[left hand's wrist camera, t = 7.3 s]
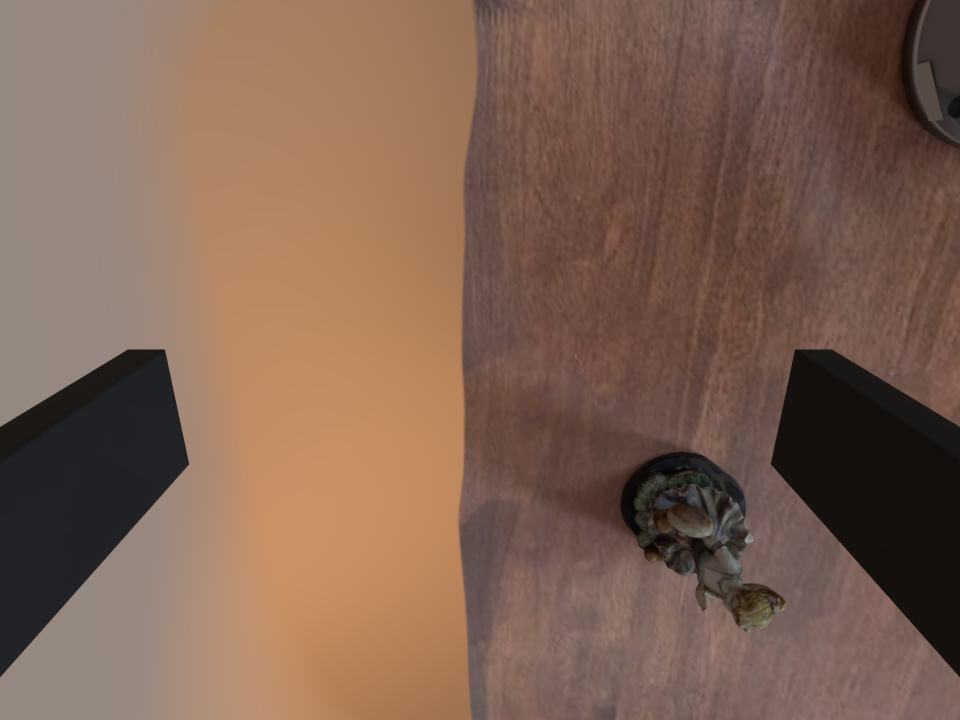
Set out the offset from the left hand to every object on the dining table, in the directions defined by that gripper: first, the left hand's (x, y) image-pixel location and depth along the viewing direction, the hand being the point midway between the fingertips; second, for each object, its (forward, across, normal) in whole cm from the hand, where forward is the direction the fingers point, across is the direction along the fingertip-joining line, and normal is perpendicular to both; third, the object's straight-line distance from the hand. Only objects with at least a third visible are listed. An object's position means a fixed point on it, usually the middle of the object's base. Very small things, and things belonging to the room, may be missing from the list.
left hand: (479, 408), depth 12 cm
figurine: (+34, +19, -26) cm, 47 cm away
